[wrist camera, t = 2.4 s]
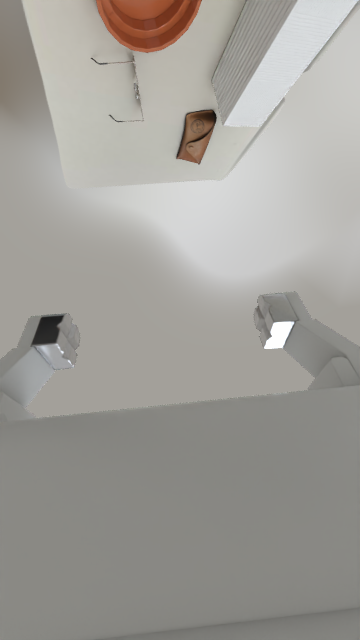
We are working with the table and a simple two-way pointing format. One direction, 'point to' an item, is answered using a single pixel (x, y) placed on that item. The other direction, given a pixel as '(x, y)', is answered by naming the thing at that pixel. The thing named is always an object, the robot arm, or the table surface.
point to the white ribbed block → (271, 54)
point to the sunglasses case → (196, 135)
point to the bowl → (147, 21)
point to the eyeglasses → (134, 85)
